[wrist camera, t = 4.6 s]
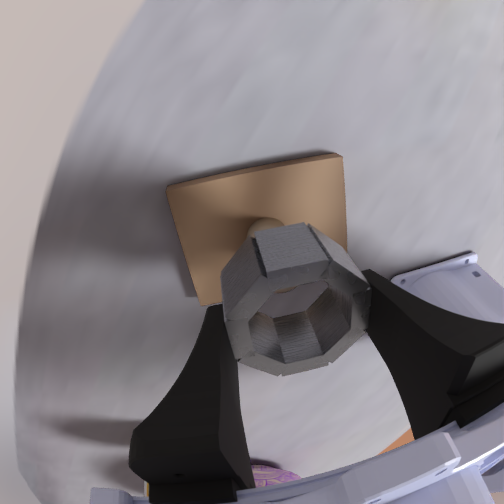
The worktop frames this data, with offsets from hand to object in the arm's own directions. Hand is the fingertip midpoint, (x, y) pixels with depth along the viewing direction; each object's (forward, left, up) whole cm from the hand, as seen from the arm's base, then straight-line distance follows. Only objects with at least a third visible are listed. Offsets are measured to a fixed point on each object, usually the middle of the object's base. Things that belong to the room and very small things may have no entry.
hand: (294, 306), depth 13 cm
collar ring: (0, 0, -2) cm, 2 cm away
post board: (0, 0, -8) cm, 8 cm away
